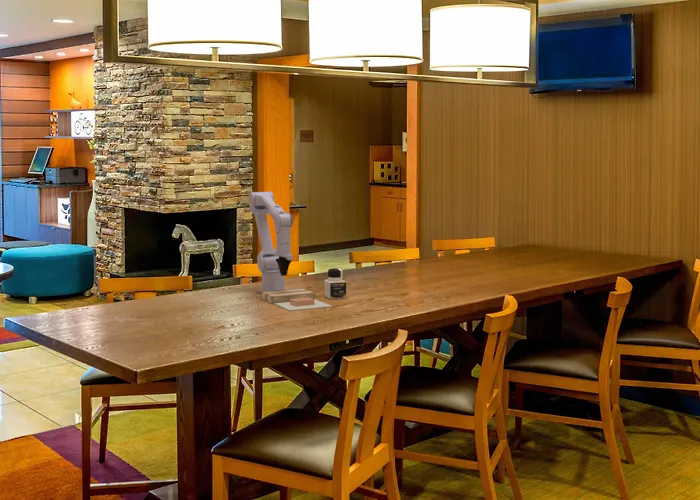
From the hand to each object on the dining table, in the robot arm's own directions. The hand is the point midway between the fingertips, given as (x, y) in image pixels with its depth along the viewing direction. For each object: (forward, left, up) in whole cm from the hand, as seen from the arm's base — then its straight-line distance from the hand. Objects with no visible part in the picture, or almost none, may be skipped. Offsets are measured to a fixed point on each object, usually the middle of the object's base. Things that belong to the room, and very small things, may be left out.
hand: (283, 275), depth 374 cm
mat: (+7, +18, -9) cm, 21 cm away
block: (+6, +17, -7) cm, 20 cm away
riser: (+1, +4, -9) cm, 10 cm away
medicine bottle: (-15, +15, -10) cm, 23 cm away
